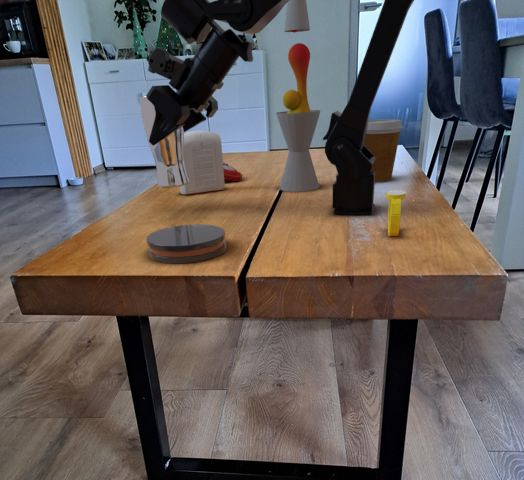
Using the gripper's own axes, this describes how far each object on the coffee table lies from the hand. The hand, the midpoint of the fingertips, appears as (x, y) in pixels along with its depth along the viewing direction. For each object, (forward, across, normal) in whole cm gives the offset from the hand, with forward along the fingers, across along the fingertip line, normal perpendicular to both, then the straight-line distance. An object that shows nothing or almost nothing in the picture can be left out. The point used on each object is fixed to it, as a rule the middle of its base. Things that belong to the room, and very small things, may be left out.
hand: (159, 141), depth 88 cm
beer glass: (+4, 0, +6) cm, 8 cm away
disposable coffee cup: (-18, -30, +36) cm, 50 cm away
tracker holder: (+8, -32, +9) cm, 35 cm away
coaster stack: (-1, +25, +18) cm, 31 cm away
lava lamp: (-6, -21, +24) cm, 33 cm away
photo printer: (+8, -17, +9) cm, 21 cm away
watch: (-20, +14, +39) cm, 46 cm away
